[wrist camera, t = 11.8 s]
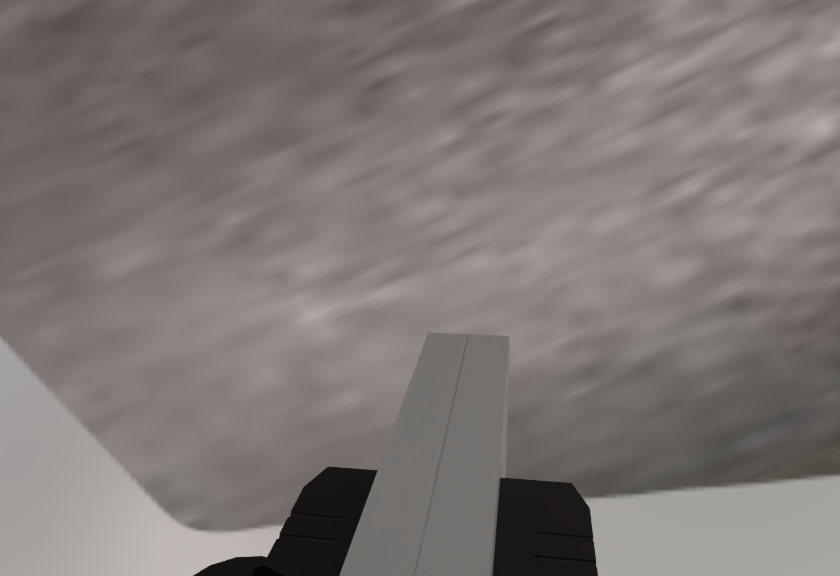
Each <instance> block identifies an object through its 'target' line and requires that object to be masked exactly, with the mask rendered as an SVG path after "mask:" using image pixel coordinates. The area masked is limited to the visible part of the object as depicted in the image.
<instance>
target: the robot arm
mask: <svg viewBox="0 0 840 576" xmlns="http://www.w3.org/2000/svg"><path fill="white" fill-rule="evenodd" d="M509 337H510V336H493V335H471V334H449V333H428V335H427V337H426V340H425V343H424V346H423V348H422V351H421V354H420V356H419V359H418V362H417V365H416V367H415V370H414V373H413V376H412V378H411V381H410V384H409V387H408V389H407V392H406V395H405V397H404V400H403V403H402V406H401V408H400V411H399V414H398V417H397V419H396V422H395V425H394V428H393V430H392V433H391V436H390V439H389V441H388V444H387V447H386V449H385V452H384V455H383V458H382V460H381V463H380V466H379V469H378V471H377V470H365V469H352V468H339V467H327V468H326V469H325V470H324V471H322V472H321V473H320V474H319V475H318V476H316V477H315V478H314V479H313V480H312V481H310V482H309V483H308V484H307V485H305V486H304V487H303V489H302V491H301V493H300V495H299V497H298V499H297V501H296V503H295V505H294V507H293V509H292V511H291V515H290V517H288V518H287V520H286V522H285V524H284V526H283V528H282V530H281V532H280V536H279V539H277V540H276V541H275V543H274V545H273V547H272V549H271V551H270V553H269V555H268V557H263V556H255V557H236V558H233V559H229V560H226V561H223V562H220V563H216V564H213V565H210V566H208V567H207V568H205V569H203V570H202V571H200V572H199V573H197V574H195V575H194V576H598V573H597V567H596V557H595V548H594V542H593V532H592V524H591V515H590V508H589V507H588V505H587V504H586V502H585V501H584V500H583V498H582V497H581V496H580V494H579V493H578V491H577V490H576V489H575V487H574V486H573V484H572V483H563V482H550V481H537V480H525V479H512V478H505V472H506V447H507V411H508V374H509Z"/></svg>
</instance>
